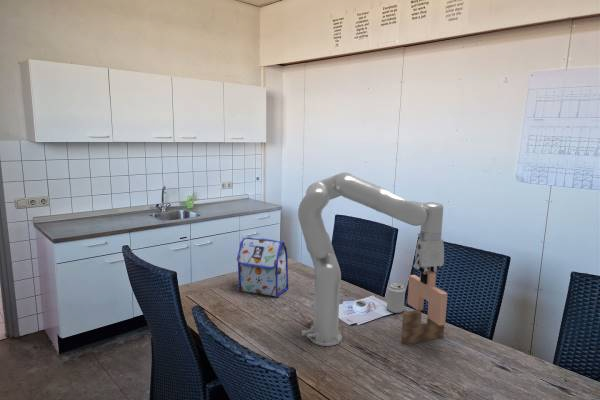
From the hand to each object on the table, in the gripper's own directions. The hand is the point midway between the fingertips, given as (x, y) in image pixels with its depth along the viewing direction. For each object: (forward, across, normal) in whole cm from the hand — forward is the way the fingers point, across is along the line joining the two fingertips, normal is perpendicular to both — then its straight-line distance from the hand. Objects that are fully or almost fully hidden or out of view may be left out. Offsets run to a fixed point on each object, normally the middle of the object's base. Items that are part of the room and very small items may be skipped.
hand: (427, 282), depth 153 cm
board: (+23, 0, 0) cm, 23 cm away
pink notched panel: (+13, 0, 0) cm, 13 cm away
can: (+24, +4, +26) cm, 35 cm away
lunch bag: (+23, -48, +65) cm, 84 cm away
